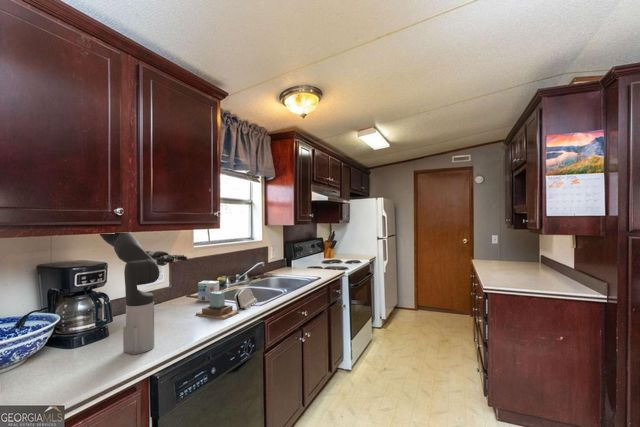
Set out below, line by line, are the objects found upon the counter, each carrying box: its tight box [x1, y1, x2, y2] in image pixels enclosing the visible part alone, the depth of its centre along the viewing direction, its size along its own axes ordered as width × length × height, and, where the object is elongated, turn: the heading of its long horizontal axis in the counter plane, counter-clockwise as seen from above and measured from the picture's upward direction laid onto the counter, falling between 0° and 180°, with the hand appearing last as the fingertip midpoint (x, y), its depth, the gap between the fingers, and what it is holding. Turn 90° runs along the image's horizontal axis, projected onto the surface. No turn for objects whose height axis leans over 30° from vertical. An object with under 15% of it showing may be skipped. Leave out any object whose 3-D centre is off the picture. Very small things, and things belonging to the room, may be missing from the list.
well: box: [195, 304, 240, 320], centre depth 157 cm, size 11×18×4 cm, turn 66°
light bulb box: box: [197, 280, 220, 302], centre depth 186 cm, size 11×7×11 cm, turn 83°
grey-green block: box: [209, 290, 226, 310], centre depth 157 cm, size 4×6×10 cm, turn 66°
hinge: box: [233, 288, 259, 311], centre depth 173 cm, size 17×5×10 cm, turn 169°
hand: (179, 259), depth 157 cm, fingers open, 8 cm apart
